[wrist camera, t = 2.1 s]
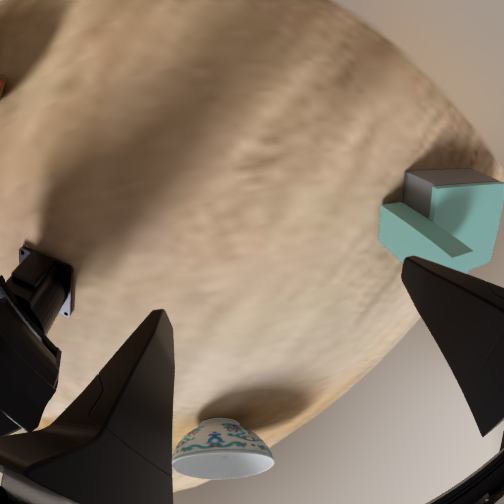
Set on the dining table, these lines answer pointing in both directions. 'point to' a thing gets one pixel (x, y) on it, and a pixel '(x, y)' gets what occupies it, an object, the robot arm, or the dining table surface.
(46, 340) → the robot arm
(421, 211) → the grey box
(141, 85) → the dining table surface
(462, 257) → the teal stepped block
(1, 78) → the tin
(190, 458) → the chinaware
